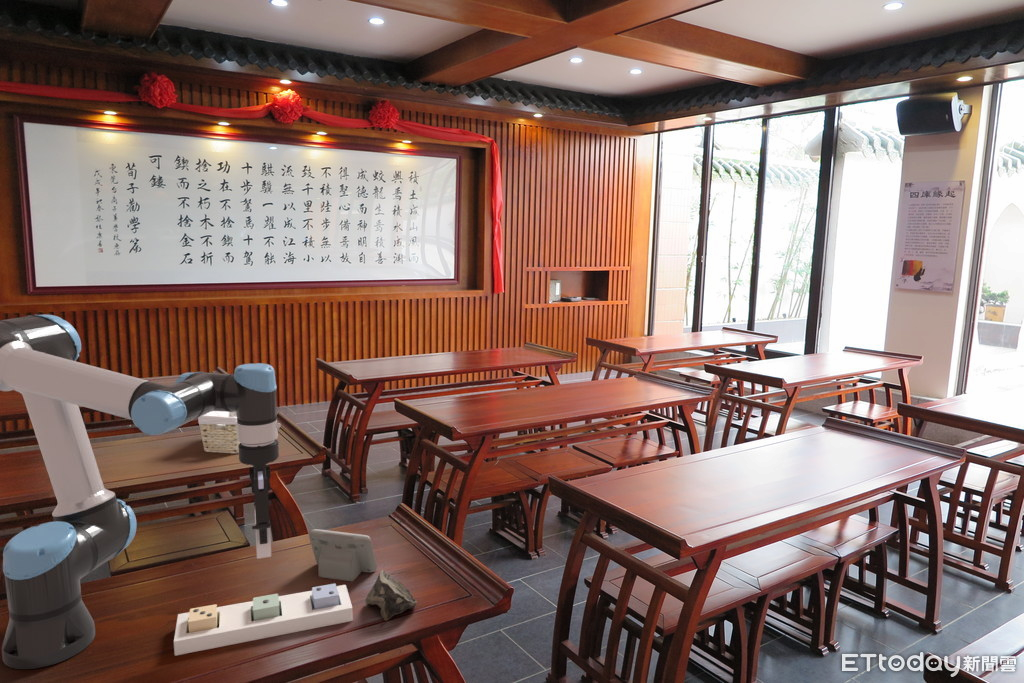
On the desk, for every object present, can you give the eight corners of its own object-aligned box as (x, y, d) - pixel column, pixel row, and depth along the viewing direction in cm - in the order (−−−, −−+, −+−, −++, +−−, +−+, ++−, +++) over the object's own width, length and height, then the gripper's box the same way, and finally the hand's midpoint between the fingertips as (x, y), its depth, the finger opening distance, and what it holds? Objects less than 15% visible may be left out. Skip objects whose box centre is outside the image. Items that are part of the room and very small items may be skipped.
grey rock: (429, 604, 148) (413, 575, 143) (400, 637, 143) (382, 609, 138) (397, 584, 155) (381, 557, 150) (369, 616, 150) (351, 588, 145)
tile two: (314, 614, 142) (314, 598, 141) (312, 602, 146) (311, 587, 146) (339, 610, 144) (338, 594, 143) (335, 598, 148) (335, 582, 148)
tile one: (254, 626, 137) (253, 609, 137) (253, 613, 142) (252, 597, 141) (279, 621, 139) (279, 605, 139) (278, 608, 144) (277, 592, 143)
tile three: (189, 638, 133) (188, 621, 132) (191, 624, 137) (189, 608, 137) (216, 633, 135) (215, 616, 134) (217, 620, 139) (216, 603, 139)
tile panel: (174, 655, 130) (173, 641, 129) (179, 627, 139) (178, 614, 139) (352, 620, 142) (352, 607, 142) (346, 596, 152) (345, 584, 151)
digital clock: (381, 571, 164) (380, 530, 162) (358, 588, 155) (357, 545, 154) (327, 556, 170) (326, 517, 168) (303, 573, 162) (301, 531, 160)
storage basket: (239, 456, 243) (237, 416, 241) (197, 453, 246) (195, 414, 243) (271, 436, 267) (269, 400, 264) (232, 434, 269) (231, 398, 267)
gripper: (281, 455, 126) (285, 567, 130) (275, 424, 145) (279, 522, 149) (238, 460, 123) (244, 574, 127) (238, 428, 143) (243, 527, 146)
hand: (263, 546), depth 138 cm, fingers open, 9 cm apart
